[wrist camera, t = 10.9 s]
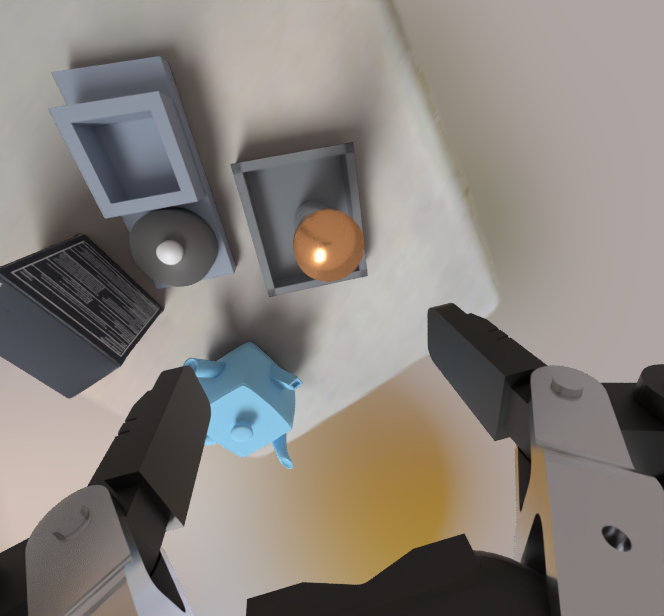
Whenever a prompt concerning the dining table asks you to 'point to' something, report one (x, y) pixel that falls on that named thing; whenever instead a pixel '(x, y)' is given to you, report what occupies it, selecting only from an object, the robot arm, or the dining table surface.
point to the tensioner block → (144, 167)
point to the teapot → (248, 401)
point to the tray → (295, 207)
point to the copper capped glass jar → (326, 242)
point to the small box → (71, 315)
